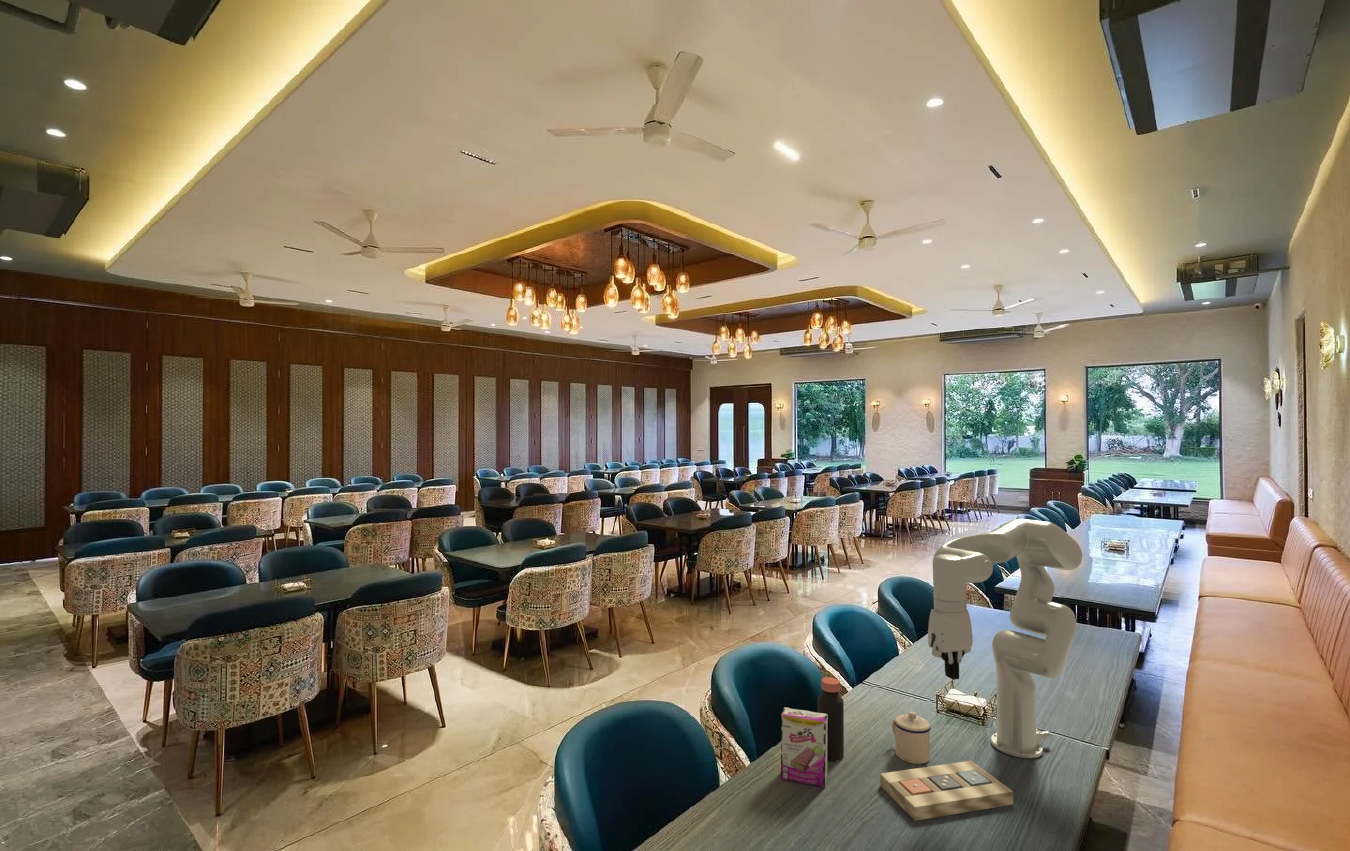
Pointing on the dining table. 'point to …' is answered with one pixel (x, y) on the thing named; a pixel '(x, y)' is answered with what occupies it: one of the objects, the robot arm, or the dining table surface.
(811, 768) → the candy bar box
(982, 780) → the key two
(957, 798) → the wooden puzzle board
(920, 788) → the key one
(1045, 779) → the dining table surface
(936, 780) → the key three
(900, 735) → the teacup with lid
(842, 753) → the bottle
